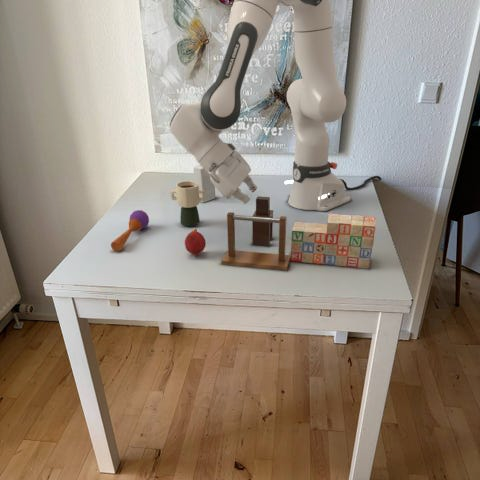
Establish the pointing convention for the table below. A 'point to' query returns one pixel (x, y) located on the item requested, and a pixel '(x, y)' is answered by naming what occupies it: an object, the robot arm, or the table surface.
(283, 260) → the rail
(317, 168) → the robot arm
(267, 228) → the brown stepped block
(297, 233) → the stack of blocks
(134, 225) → the kendama
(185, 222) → the character mug
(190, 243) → the onion
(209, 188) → the cosmetic box
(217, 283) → the table surface
